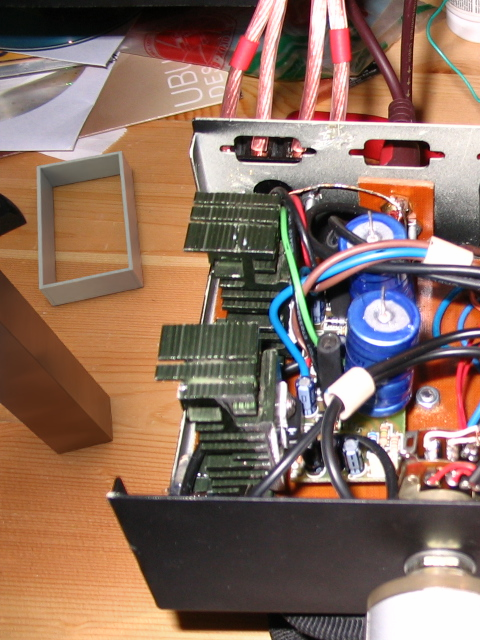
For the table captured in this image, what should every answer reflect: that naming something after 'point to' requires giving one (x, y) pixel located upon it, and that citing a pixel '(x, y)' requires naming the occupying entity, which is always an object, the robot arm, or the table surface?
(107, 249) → the table surface
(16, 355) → the brown wooden bar
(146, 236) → the table surface
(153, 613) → the table surface
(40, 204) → the grey hollow rectangular frame
